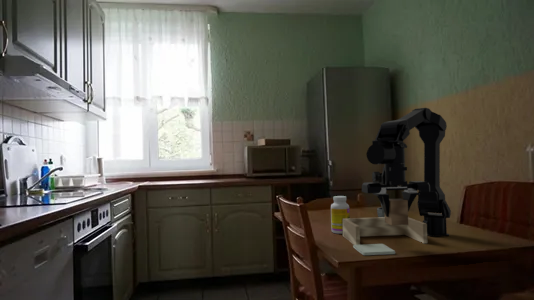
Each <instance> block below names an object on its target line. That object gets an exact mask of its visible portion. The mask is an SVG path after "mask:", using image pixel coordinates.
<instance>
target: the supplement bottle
mask: <svg viewBox="0 0 534 300" xmlns="http://www.w3.org/2000/svg"><path fill="white" fill-rule="evenodd" d="M332 198H333V203H331V204H330V222H331V223H330V226H331V227H330V229H331V230H330V231H331V232H332V233H333V234H338V235H341V234H342V235H343V225H342V219H350V218H351V215H350V205H349V204H348V203H347V196H346V195H345V196H344V195H337V196H336V195H335V196H333V197H332Z"/></svg>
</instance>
